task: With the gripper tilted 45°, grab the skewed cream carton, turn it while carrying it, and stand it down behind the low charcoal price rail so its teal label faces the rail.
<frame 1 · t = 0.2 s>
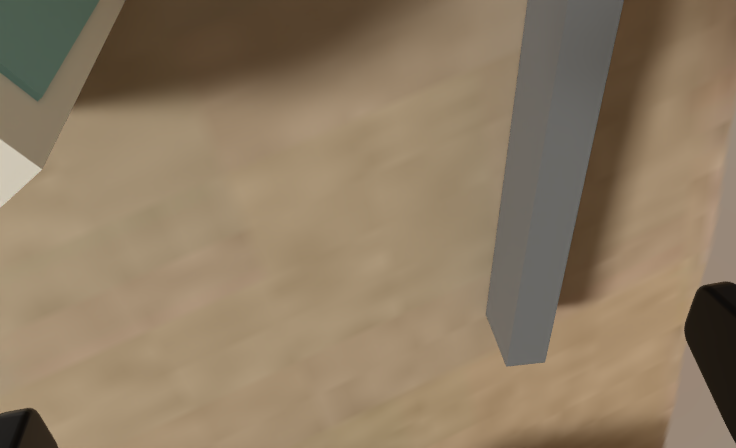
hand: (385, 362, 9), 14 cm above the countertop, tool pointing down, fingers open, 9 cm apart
price rail: (540, 76, 23), on the countertop
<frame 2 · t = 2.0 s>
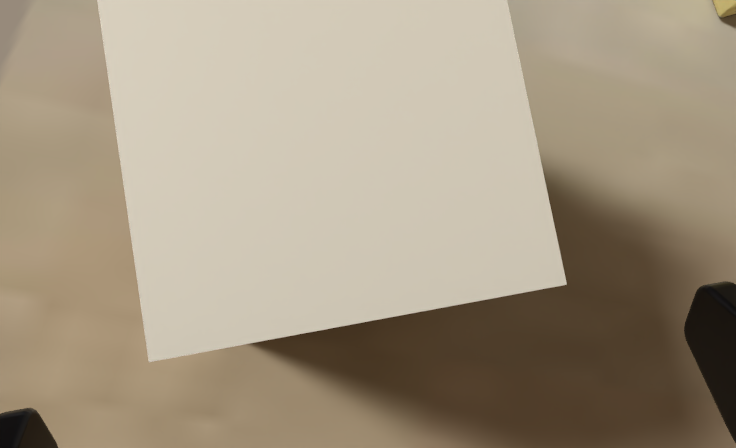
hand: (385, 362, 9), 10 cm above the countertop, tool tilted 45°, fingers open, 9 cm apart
cream carton: (316, 213, 20), on the countertop
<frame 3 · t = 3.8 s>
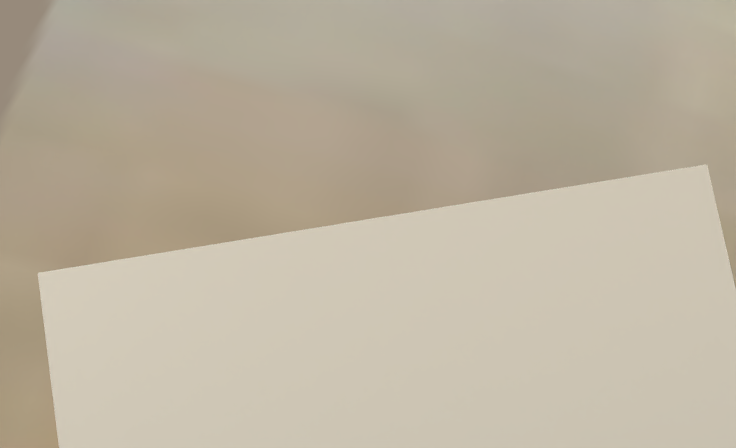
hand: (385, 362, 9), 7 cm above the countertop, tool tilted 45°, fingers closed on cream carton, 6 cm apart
cream carton: (359, 400, 15), on the countertop, touching gripper
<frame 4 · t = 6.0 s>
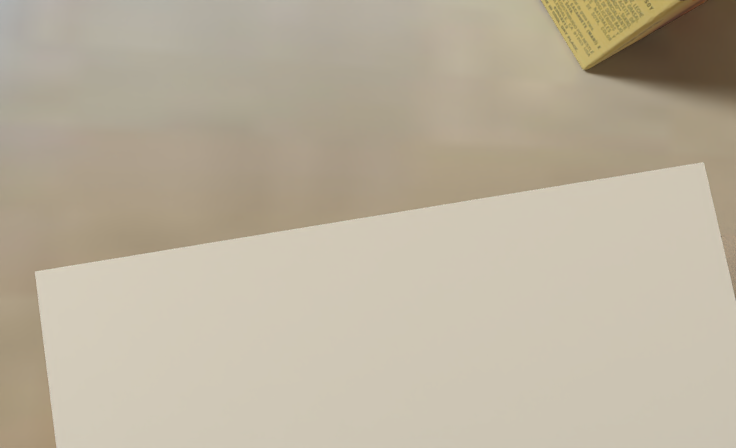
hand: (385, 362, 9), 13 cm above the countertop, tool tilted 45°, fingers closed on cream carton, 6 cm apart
cream carton: (358, 399, 15), point 6 cm above the countertop, touching gripper
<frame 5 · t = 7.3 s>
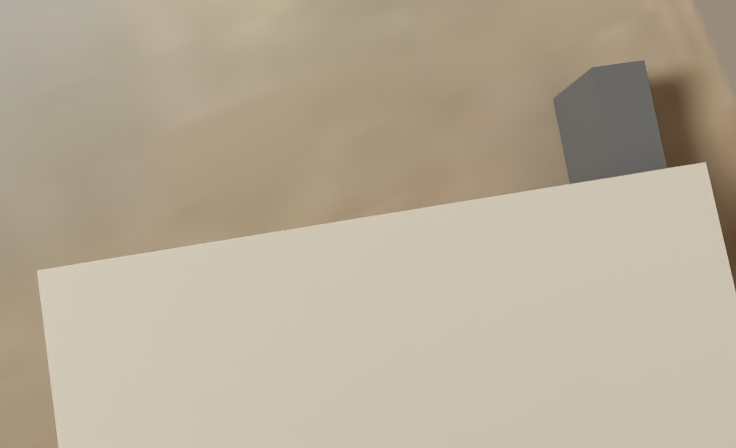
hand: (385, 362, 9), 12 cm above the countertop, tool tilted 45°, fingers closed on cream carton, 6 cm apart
price rail: (644, 429, 21), on the countertop
cream carton: (359, 399, 15), point 5 cm above the countertop, touching gripper
when the fingers open (8 cm above the countertop, at t = 8.6 s): cream carton drops 1 cm, on the countertop.
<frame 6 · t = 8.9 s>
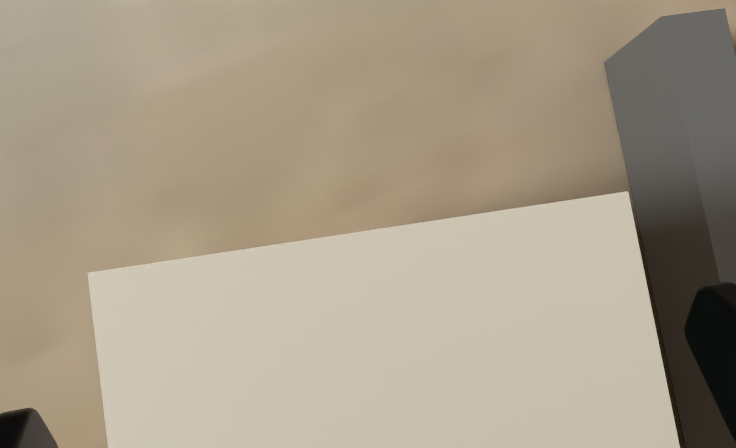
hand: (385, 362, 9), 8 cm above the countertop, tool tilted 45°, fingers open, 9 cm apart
cream carton: (350, 389, 17), on the countertop
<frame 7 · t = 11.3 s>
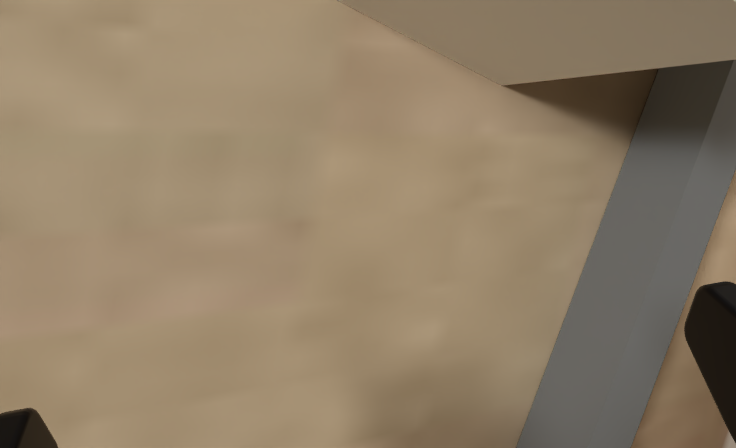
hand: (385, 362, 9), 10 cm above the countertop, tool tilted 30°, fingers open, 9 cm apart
price rail: (640, 171, 23), on the countertop
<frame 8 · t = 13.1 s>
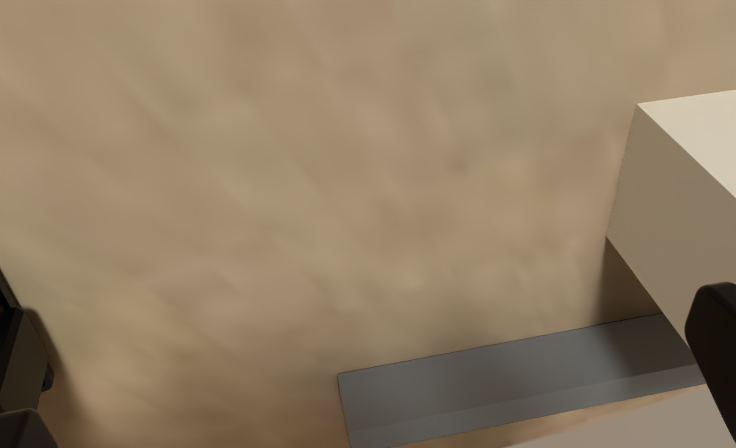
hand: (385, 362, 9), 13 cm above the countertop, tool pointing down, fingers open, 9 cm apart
price rail: (573, 341, 31), on the countertop
cream carton: (693, 163, 26), on the countertop
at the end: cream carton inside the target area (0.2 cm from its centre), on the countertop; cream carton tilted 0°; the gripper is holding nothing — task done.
